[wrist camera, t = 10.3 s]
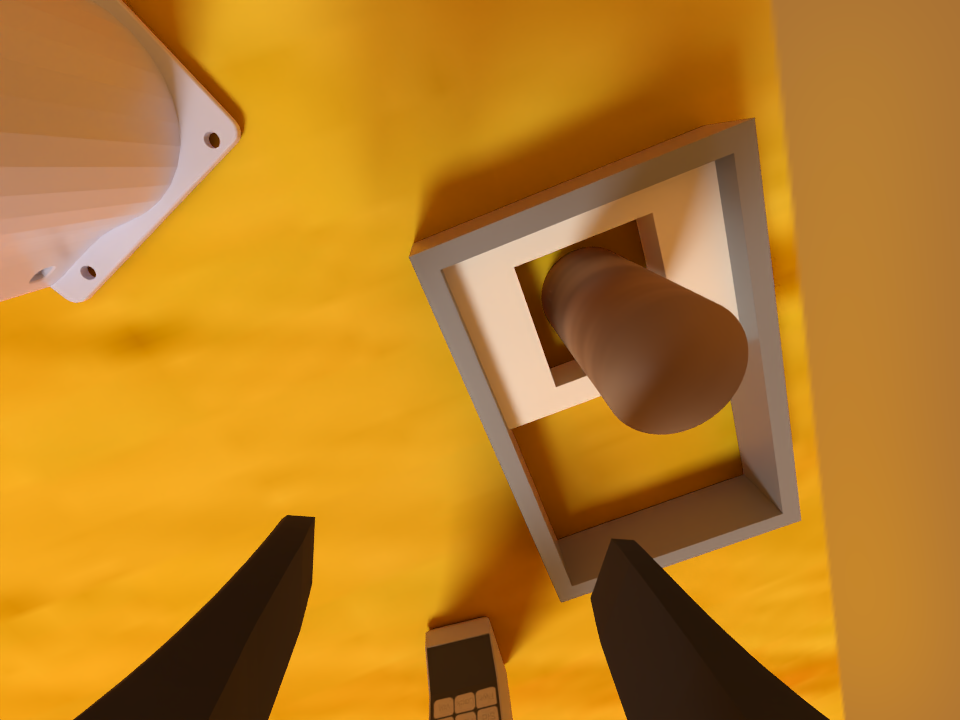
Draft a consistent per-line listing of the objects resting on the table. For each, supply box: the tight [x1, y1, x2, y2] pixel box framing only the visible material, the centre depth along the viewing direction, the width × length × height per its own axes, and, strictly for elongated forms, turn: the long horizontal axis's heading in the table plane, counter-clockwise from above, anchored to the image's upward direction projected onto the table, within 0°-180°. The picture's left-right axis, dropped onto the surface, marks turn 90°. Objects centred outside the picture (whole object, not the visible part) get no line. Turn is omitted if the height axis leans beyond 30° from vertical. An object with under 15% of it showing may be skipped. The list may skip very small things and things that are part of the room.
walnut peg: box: [541, 247, 748, 434], centre depth 16 cm, size 4×4×8 cm
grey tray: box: [409, 118, 801, 602], centre depth 20 cm, size 18×12×3 cm, turn 21°
